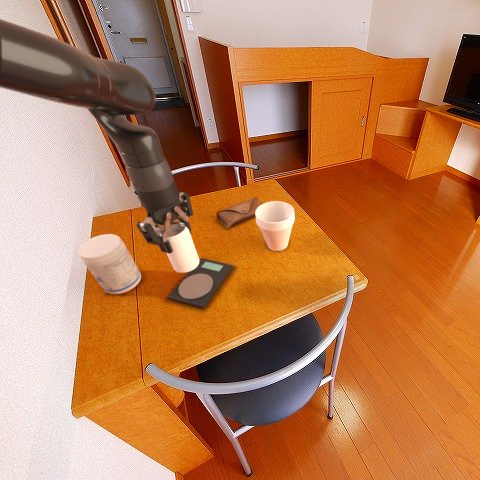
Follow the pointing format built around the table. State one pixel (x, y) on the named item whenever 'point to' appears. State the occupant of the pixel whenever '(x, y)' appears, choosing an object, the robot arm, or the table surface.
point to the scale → (200, 283)
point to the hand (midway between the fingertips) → (178, 242)
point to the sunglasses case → (238, 212)
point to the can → (182, 248)
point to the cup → (275, 223)
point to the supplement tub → (110, 263)
